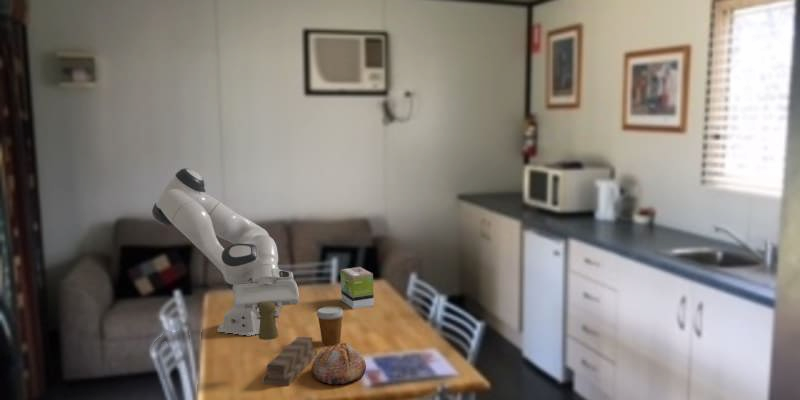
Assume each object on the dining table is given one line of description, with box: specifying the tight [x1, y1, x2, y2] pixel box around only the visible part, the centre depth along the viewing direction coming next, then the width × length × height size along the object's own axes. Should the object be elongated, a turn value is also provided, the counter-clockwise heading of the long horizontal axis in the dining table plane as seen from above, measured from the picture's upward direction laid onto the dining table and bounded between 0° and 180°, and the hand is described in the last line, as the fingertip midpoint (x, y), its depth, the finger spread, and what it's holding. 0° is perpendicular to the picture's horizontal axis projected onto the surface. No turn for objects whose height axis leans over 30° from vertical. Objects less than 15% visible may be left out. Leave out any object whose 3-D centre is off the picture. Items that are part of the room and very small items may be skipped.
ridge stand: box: [263, 336, 318, 386], centre depth 205 cm, size 26×8×6 cm, turn 169°
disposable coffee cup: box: [316, 306, 344, 346], centre depth 229 cm, size 10×10×12 cm
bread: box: [311, 342, 367, 386], centre depth 200 cm, size 16×20×10 cm
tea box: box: [339, 266, 375, 310], centre depth 280 cm, size 15×10×15 cm, turn 25°
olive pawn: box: [258, 301, 279, 341], centre depth 200 cm, size 6×6×11 cm
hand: (267, 317), depth 199 cm, fingers closed on olive pawn, 4 cm apart
